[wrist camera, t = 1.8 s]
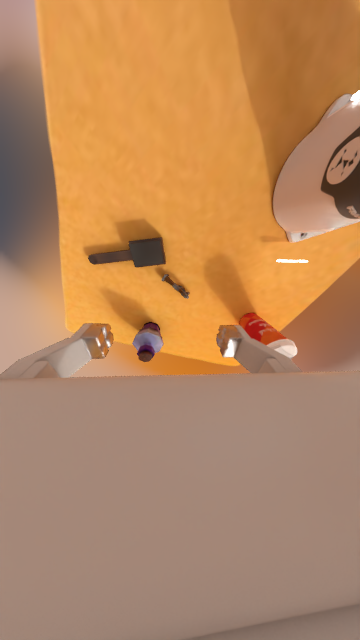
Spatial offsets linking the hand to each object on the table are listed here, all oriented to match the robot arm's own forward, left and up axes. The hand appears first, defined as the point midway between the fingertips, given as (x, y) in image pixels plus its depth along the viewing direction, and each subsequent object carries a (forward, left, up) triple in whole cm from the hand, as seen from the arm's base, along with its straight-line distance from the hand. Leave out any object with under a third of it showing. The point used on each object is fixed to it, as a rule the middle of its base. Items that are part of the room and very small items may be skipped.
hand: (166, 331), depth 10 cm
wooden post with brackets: (-1, +5, -26) cm, 27 cm away
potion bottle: (+9, +19, -26) cm, 33 cm away
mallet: (+9, -3, -26) cm, 28 cm away
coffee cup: (-23, +20, -26) cm, 40 cm away
